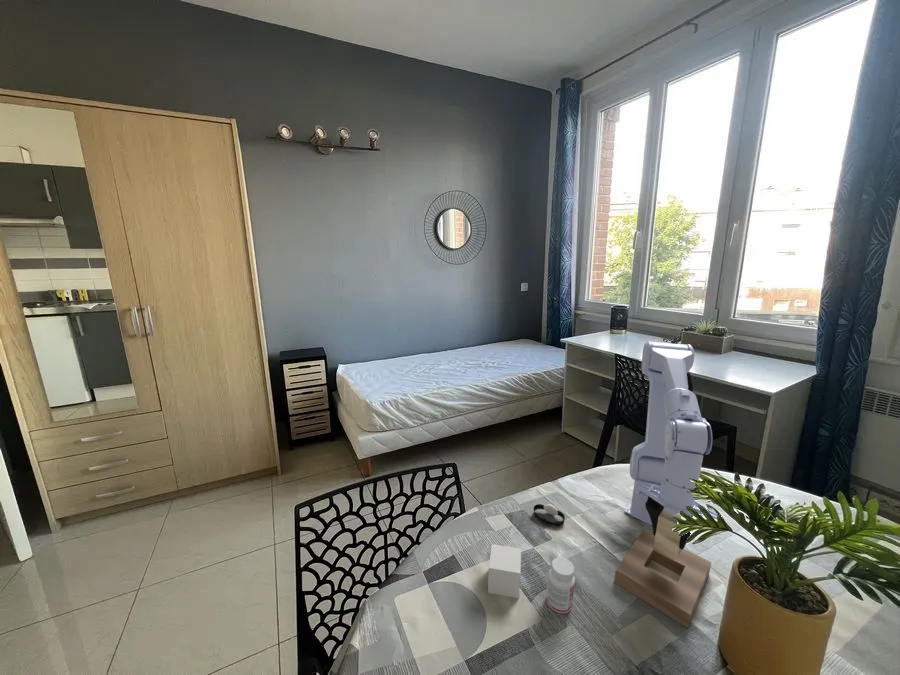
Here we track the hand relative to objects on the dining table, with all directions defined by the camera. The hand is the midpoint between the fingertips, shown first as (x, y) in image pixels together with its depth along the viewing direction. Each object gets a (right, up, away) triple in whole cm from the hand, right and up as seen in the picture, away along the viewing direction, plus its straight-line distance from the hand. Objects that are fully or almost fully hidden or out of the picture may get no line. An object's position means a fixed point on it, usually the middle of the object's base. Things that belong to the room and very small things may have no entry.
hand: (669, 539), depth 74 cm
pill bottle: (-23, -10, -3) cm, 25 cm away
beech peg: (0, -2, +1) cm, 2 cm away
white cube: (-33, -9, +1) cm, 34 cm away
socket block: (0, -9, +2) cm, 9 cm away
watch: (-19, -5, +19) cm, 27 cm away
